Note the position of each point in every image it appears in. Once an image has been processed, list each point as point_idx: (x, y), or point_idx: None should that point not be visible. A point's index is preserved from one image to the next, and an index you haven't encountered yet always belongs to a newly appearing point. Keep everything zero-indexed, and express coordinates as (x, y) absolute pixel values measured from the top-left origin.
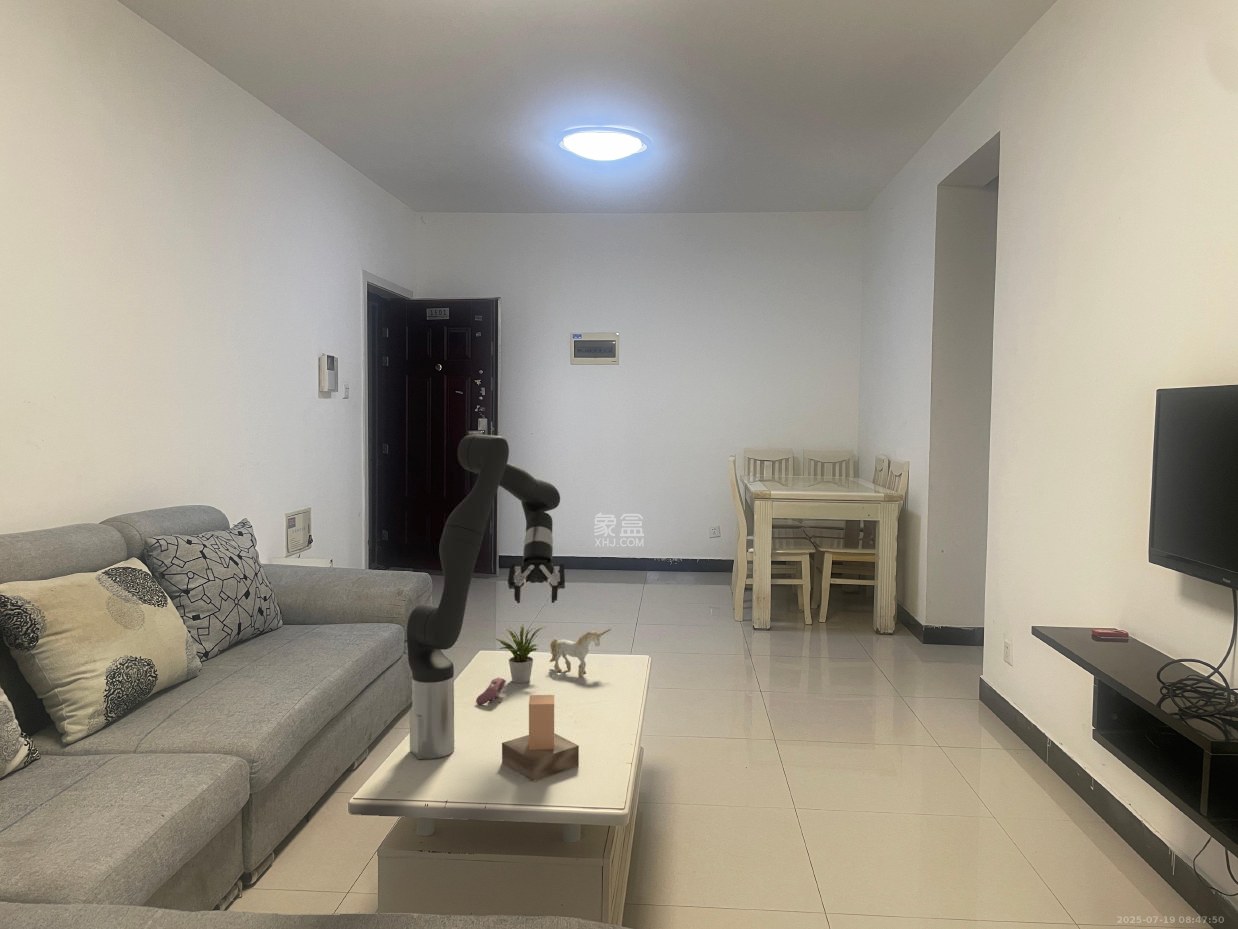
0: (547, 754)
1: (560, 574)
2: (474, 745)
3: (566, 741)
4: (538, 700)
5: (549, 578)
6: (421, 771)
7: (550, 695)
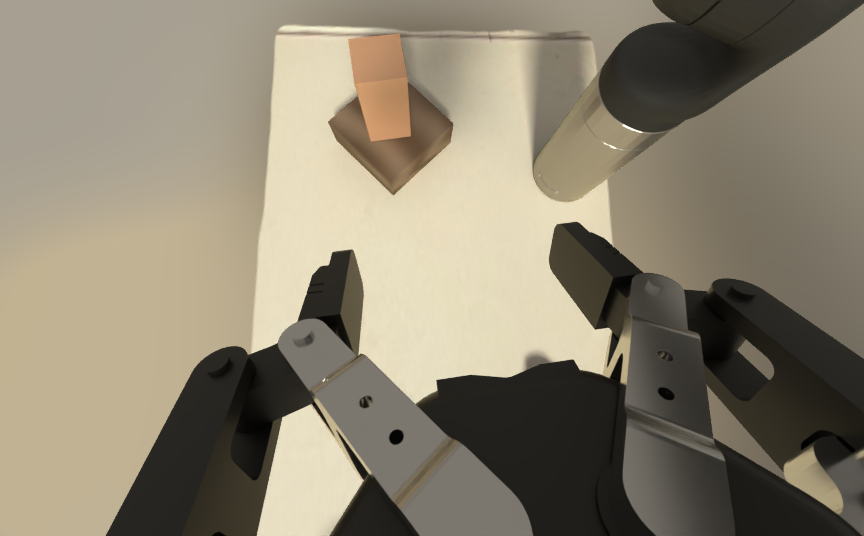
0: None
1: (198, 458)
2: (509, 199)
3: (349, 135)
4: (383, 52)
5: (353, 361)
6: (553, 110)
7: (362, 79)
